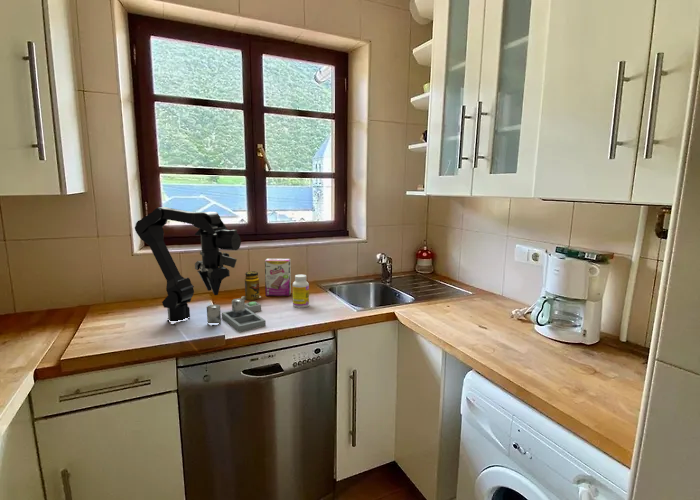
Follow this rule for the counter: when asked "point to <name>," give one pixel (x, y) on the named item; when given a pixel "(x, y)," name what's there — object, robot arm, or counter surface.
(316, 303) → the counter surface
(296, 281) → the supplement bottle
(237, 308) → the seated billet
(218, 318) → the billet
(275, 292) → the candy bar box
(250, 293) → the condiment
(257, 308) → the button collar
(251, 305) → the button
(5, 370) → the counter surface
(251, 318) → the grey divided tray
